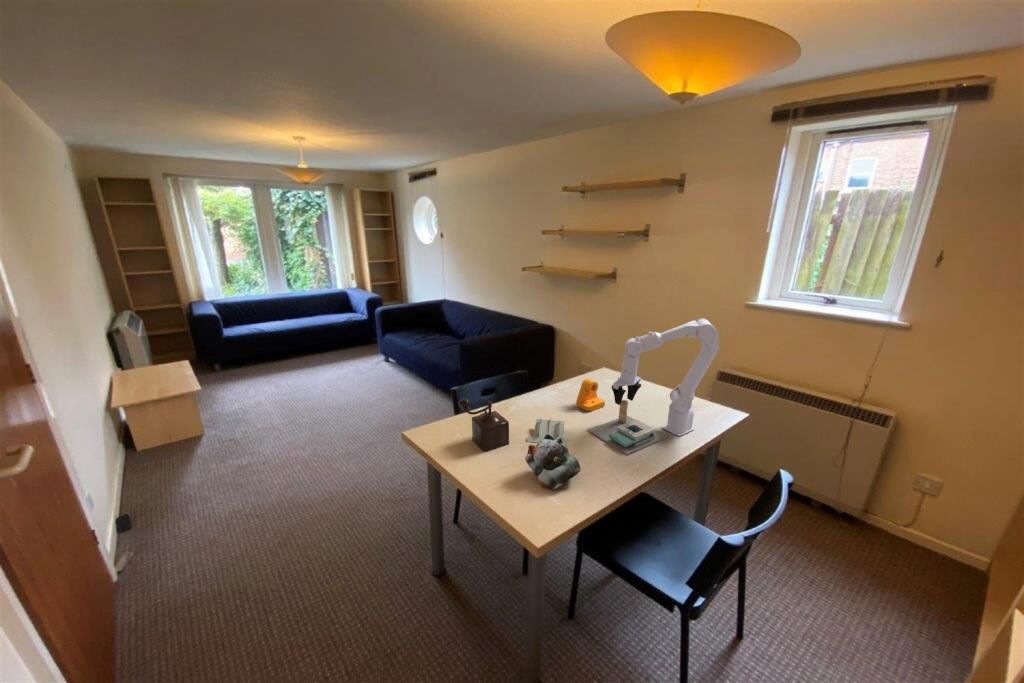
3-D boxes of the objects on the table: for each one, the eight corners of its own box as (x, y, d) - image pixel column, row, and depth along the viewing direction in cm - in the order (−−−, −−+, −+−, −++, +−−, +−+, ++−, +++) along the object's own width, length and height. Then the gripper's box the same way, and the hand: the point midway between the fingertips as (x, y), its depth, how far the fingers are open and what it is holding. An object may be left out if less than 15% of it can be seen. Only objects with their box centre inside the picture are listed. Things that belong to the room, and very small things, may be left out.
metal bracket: (531, 413, 156) (570, 416, 153) (532, 424, 159) (569, 427, 156) (526, 441, 144) (567, 445, 142) (526, 451, 148) (567, 456, 145)
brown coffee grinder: (495, 431, 154) (494, 388, 149) (509, 444, 145) (509, 399, 140) (458, 442, 146) (456, 397, 141) (471, 457, 137) (469, 410, 132)
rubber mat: (626, 416, 165) (626, 415, 165) (667, 437, 149) (668, 436, 149) (587, 431, 154) (587, 429, 154) (627, 455, 138) (627, 454, 138)
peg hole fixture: (635, 428, 154) (636, 419, 153) (654, 438, 147) (655, 429, 146) (607, 439, 146) (608, 430, 145) (626, 451, 139) (627, 441, 138)
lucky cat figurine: (545, 496, 117) (526, 452, 118) (533, 486, 129) (516, 447, 129) (588, 472, 121) (569, 430, 121) (573, 465, 133) (556, 427, 133)
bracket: (587, 413, 168) (589, 387, 165) (576, 406, 174) (577, 381, 171) (605, 406, 174) (607, 381, 171) (593, 400, 180) (595, 376, 176)
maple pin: (622, 419, 161) (623, 399, 159) (627, 422, 159) (629, 402, 156) (616, 421, 160) (618, 401, 157) (622, 424, 157) (624, 403, 155)
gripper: (632, 363, 159) (627, 393, 163) (608, 369, 151) (603, 401, 155) (647, 369, 154) (641, 400, 158) (623, 375, 145) (618, 409, 150)
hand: (623, 401), depth 156 cm, fingers open, 7 cm apart
